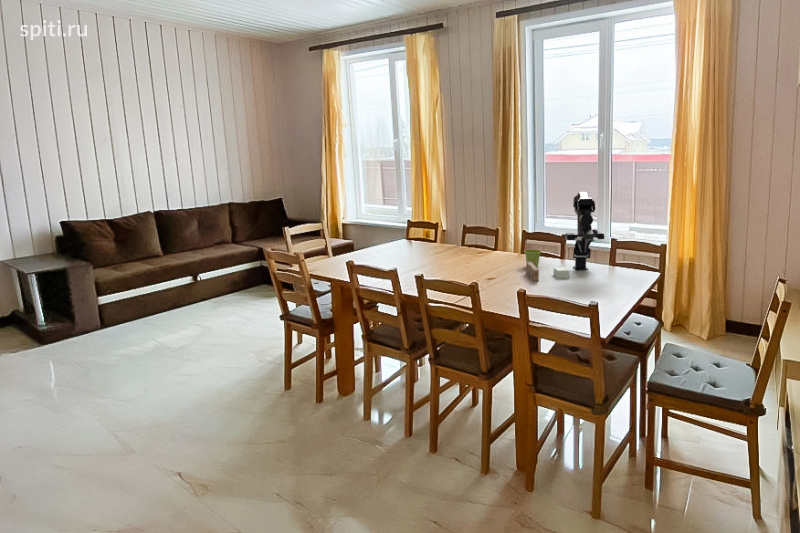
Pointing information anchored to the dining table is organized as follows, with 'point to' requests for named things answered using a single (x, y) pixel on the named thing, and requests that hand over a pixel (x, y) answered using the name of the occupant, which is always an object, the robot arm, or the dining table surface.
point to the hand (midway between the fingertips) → (583, 252)
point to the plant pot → (532, 256)
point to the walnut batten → (532, 271)
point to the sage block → (561, 272)
